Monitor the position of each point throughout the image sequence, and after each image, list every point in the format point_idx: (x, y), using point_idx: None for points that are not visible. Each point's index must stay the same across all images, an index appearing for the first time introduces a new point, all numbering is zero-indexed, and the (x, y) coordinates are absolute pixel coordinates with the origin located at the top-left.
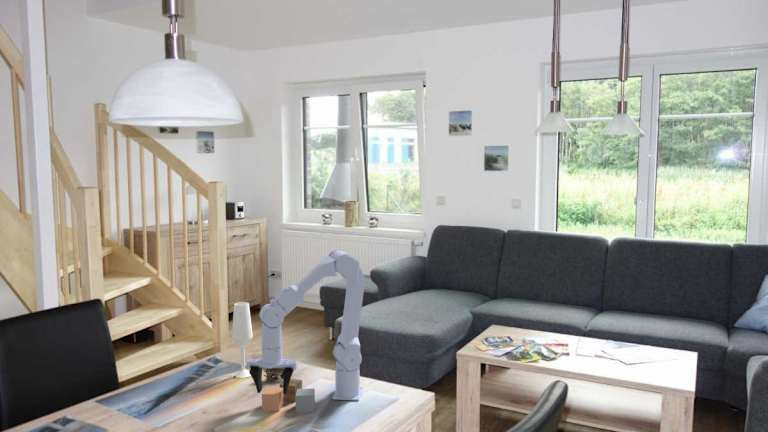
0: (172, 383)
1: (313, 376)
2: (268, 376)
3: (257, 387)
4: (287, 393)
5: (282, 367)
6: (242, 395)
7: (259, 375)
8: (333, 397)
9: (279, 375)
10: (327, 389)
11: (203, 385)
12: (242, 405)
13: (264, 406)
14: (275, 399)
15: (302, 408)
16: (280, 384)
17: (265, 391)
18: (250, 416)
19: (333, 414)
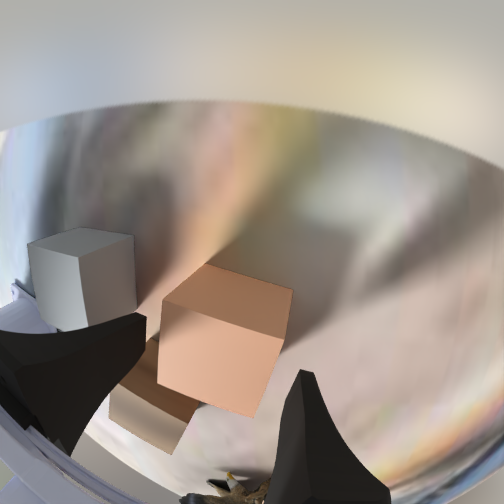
0: (493, 459)
1: (147, 459)
2: (263, 491)
3: (312, 394)
4: None
5: (42, 444)
6: (365, 429)
7: (285, 477)
8: None
9: (230, 488)
10: None
11: (447, 466)
12: (382, 357)
13: (277, 294)
14: (199, 293)
15: (99, 236)
16: (183, 421)
17: (258, 369)
18: (353, 227)
19: (37, 201)
